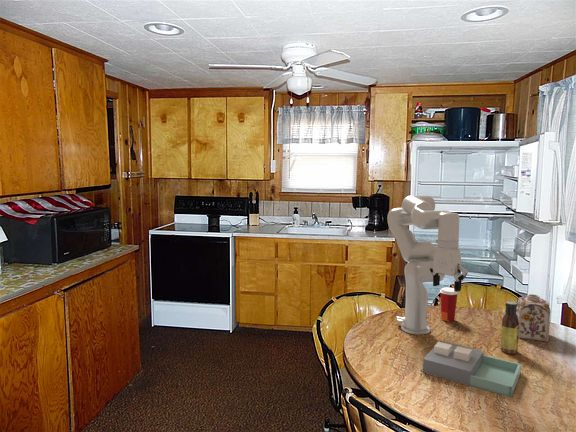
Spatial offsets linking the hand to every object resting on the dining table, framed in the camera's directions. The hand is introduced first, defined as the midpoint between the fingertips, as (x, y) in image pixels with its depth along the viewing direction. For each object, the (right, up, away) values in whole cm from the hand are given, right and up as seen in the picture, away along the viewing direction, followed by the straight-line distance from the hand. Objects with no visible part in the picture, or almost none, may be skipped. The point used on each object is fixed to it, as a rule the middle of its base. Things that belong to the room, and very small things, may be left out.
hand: (446, 288), depth 164 cm
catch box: (+11, -29, -17) cm, 35 cm away
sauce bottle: (+27, -26, +6) cm, 38 cm away
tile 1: (-4, -23, -7) cm, 24 cm away
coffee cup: (+16, -22, +41) cm, 49 cm away
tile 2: (+2, -23, -11) cm, 25 cm away
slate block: (-1, -28, -9) cm, 29 cm away
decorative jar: (+45, -25, +22) cm, 56 cm away
